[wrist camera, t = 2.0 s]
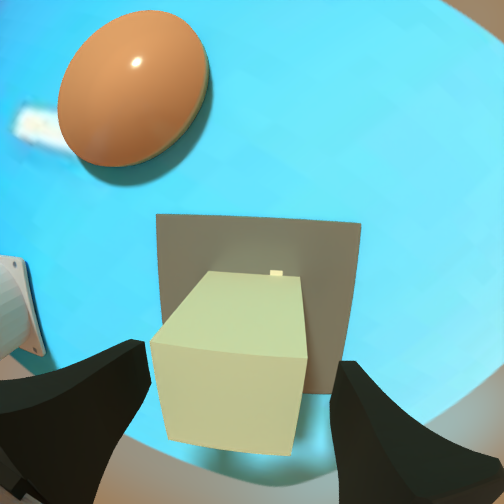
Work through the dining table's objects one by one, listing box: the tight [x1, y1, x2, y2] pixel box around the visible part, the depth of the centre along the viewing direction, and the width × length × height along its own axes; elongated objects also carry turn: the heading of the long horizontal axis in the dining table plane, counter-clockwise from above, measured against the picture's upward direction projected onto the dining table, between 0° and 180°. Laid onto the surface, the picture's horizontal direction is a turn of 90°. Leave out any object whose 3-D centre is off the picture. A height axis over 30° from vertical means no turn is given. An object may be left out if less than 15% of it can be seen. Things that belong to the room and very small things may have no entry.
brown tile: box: [156, 214, 361, 394], centre depth 15 cm, size 10×10×1 cm
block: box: [150, 271, 308, 456], centre depth 12 cm, size 4×4×7 cm
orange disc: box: [58, 10, 209, 167], centre depth 13 cm, size 9×9×1 cm
